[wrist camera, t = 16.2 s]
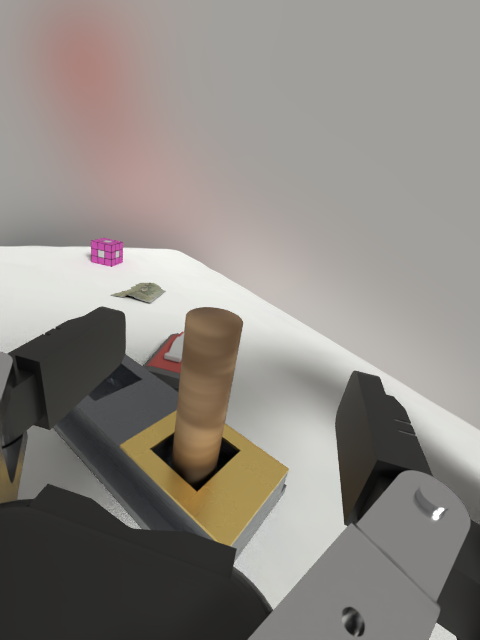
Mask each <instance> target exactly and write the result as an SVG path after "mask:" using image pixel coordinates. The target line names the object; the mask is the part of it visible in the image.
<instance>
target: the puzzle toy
mask: <svg viewBox="0 0 480 640" xmlns="http://www.w3.org/2000/svg"><path fill="white" fill-rule="evenodd" d="M91 260H92V262H93V263H98V264H102V265H106V266H111V267H112V266H114V265H117V264H119V263H122V262H123V242H120V241H116V240H111V239H107V238H101V239H97V240H92V241H91Z"/></svg>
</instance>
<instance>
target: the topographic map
mask: <svg viewBox="0 0 480 640" xmlns="http://www.w3.org/2000/svg"><path fill="white" fill-rule="evenodd" d="M131 288H132V289H130V290H127V291H122V292H120V293H116V294H113V295H110V296H119V297H125V296H126V295H130V296H133V297H134V298H136V299H140V300H142V301H145V302H148V303H151V302H152V301H154V300H155V299H156V298H157V297H159V296H161V295H162V294H163V293H164V292H165V291H164V290H162V289H161V288H160V287H159V286H158V285H156V284H155V283H140V284H138V285H136V286H134V287H131Z"/></svg>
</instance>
